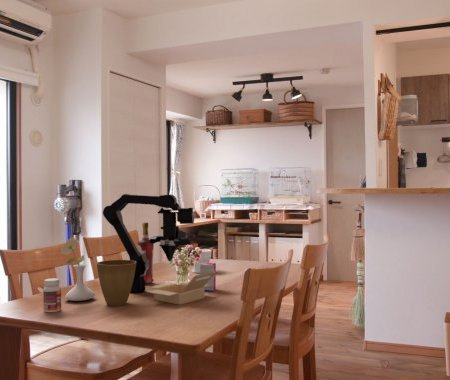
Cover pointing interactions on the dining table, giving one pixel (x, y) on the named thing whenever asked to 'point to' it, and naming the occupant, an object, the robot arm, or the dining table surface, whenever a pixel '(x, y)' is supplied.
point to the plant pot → (116, 280)
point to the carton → (176, 293)
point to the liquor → (147, 253)
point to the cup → (202, 260)
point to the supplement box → (207, 269)
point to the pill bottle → (52, 295)
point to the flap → (198, 281)
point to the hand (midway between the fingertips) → (170, 260)
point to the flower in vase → (79, 290)
